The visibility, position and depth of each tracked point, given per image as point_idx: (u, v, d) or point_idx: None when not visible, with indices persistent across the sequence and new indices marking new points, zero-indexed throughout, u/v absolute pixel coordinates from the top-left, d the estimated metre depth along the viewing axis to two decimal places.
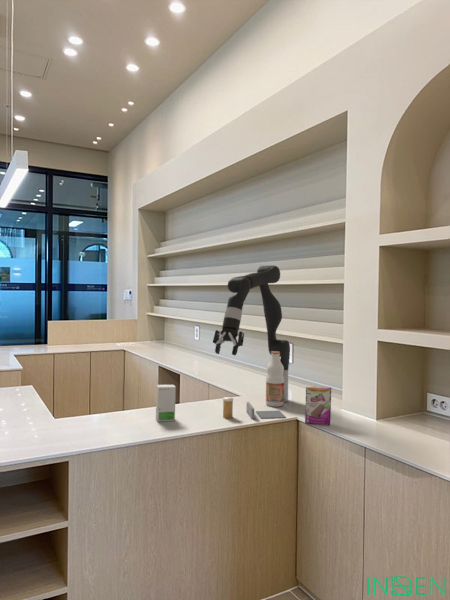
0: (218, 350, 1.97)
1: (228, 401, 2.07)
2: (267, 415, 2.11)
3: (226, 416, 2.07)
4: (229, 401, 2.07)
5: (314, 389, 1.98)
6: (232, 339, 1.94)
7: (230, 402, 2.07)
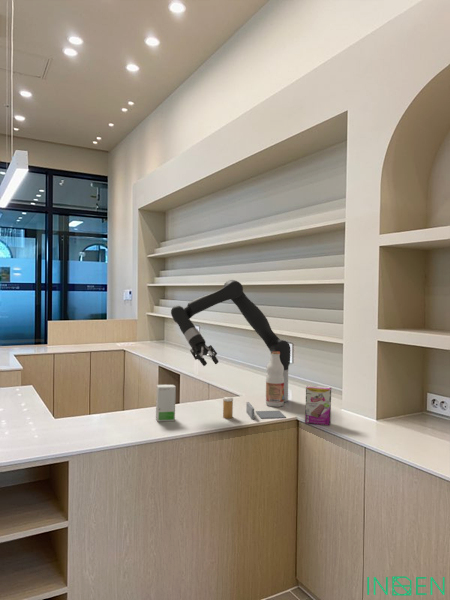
0: (215, 361, 2.19)
1: (228, 401, 2.07)
2: (267, 415, 2.11)
3: (226, 416, 2.07)
4: (229, 401, 2.07)
5: (314, 389, 1.98)
6: None
7: (230, 402, 2.07)
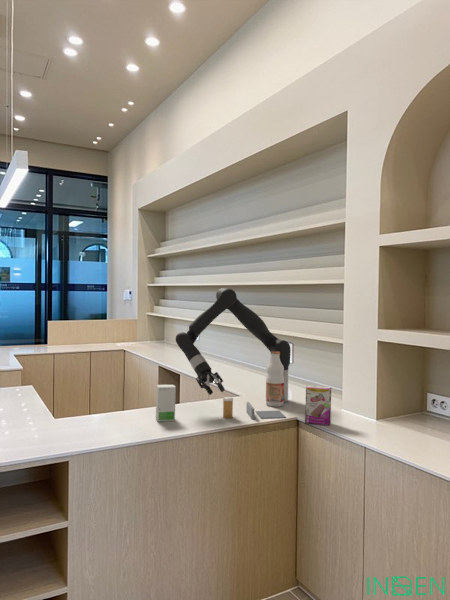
0: (221, 388, 2.17)
1: (228, 401, 2.07)
2: (267, 415, 2.11)
3: (226, 416, 2.07)
4: (229, 401, 2.07)
5: (314, 389, 1.98)
6: None
7: (230, 402, 2.07)
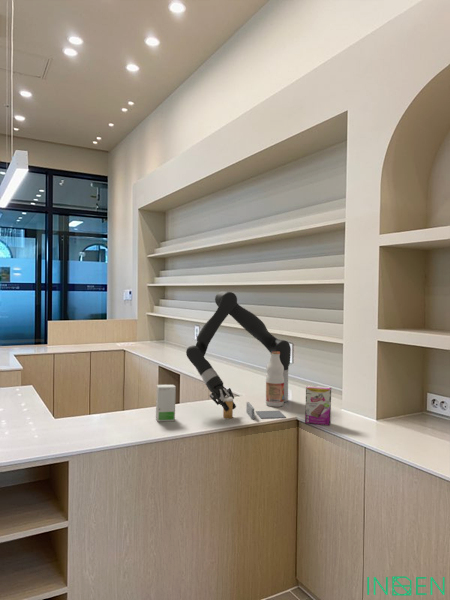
0: None
1: (228, 401, 2.07)
2: (267, 415, 2.11)
3: (226, 416, 2.07)
4: (229, 401, 2.07)
5: (314, 389, 1.98)
6: None
7: (231, 402, 2.07)
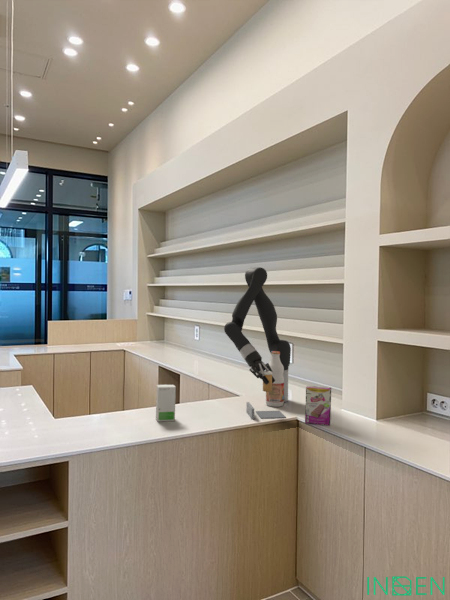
0: None
1: (268, 375, 2.11)
2: (267, 415, 2.11)
3: (266, 389, 2.11)
4: (269, 375, 2.11)
5: (314, 389, 1.98)
6: None
7: (270, 376, 2.12)
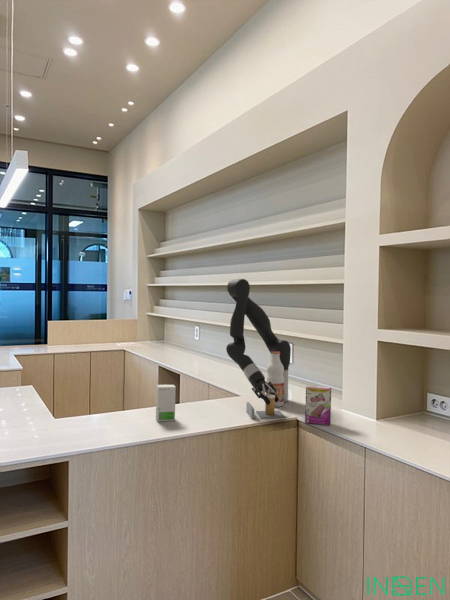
0: (275, 398, 2.16)
1: (271, 398, 2.11)
2: (267, 415, 2.11)
3: (269, 413, 2.12)
4: (272, 398, 2.11)
5: (314, 389, 1.98)
6: None
7: (273, 399, 2.12)
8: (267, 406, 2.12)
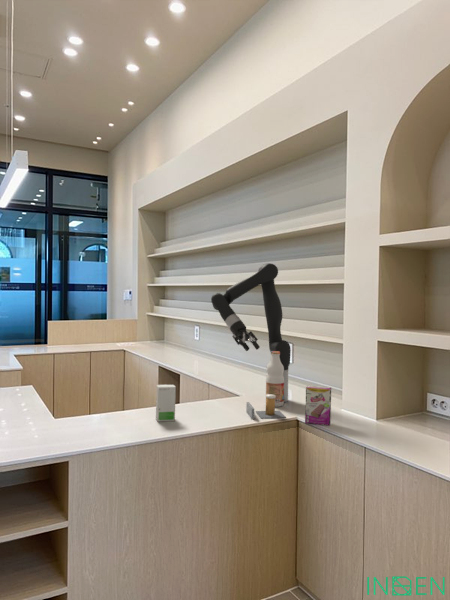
0: (256, 346, 2.24)
1: (271, 398, 2.11)
2: (267, 415, 2.11)
3: (268, 413, 2.12)
4: (272, 398, 2.11)
5: (314, 389, 1.98)
6: None
7: (273, 399, 2.12)
8: (267, 406, 2.12)
